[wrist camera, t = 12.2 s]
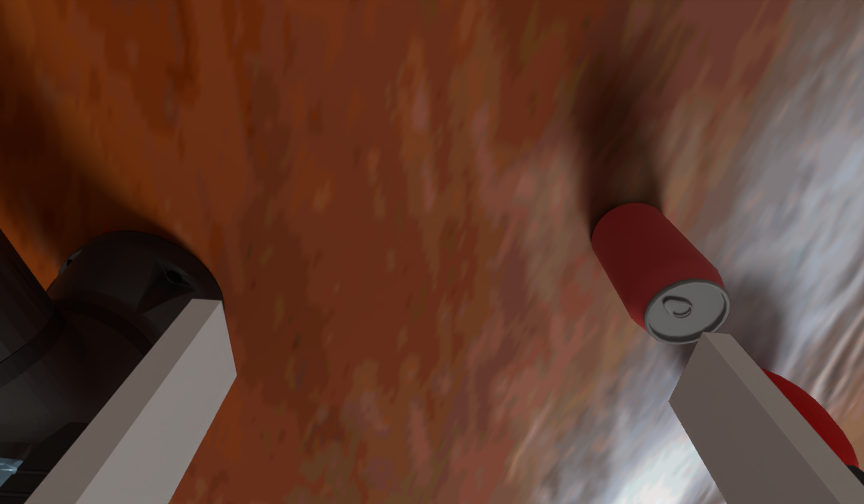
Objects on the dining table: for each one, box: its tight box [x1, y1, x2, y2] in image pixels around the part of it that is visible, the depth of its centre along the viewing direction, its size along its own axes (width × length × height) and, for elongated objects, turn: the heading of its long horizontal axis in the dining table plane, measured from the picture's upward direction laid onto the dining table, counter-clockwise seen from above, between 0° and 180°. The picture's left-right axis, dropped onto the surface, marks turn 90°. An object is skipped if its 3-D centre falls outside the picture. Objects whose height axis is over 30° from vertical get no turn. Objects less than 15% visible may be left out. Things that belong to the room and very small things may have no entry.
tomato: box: [760, 368, 859, 468], centre depth 43 cm, size 13×11×14 cm
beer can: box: [592, 203, 731, 345], centre depth 35 cm, size 7×7×12 cm
